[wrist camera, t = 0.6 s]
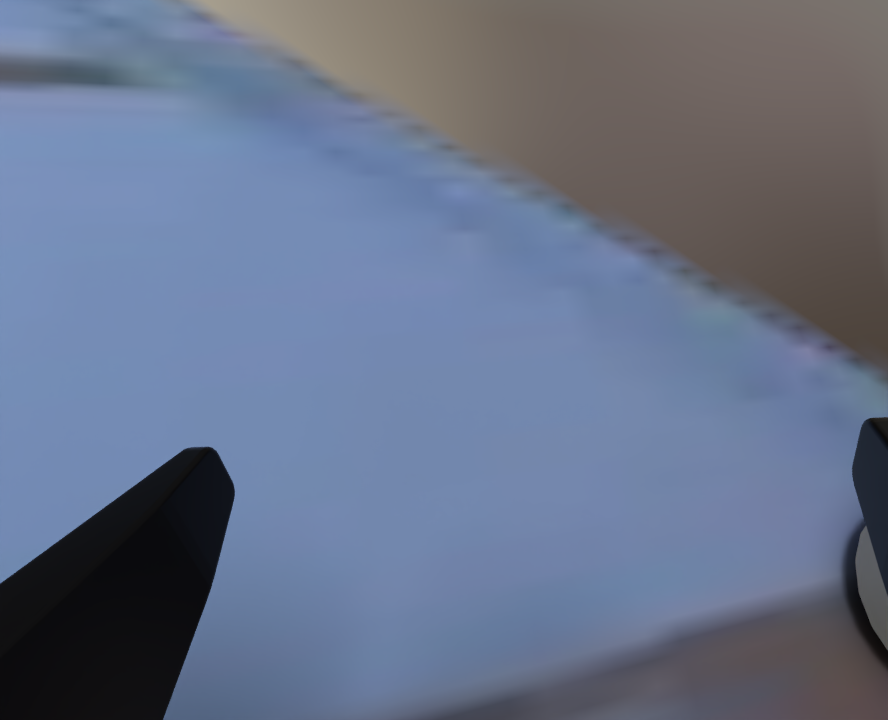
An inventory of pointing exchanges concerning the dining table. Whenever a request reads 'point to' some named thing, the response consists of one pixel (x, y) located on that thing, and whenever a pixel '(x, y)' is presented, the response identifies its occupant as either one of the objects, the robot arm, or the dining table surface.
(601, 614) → the dining table surface
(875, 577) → the can
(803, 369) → the dining table surface
